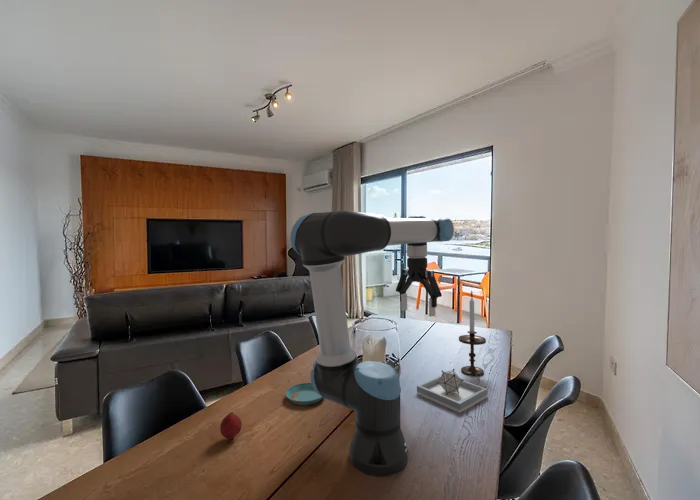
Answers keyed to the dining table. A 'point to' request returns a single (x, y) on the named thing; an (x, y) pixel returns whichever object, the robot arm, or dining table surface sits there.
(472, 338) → the candlestick
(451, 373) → the game die
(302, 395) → the saucer
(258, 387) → the dining table surface
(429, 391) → the tray
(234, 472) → the dining table surface
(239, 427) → the onion
